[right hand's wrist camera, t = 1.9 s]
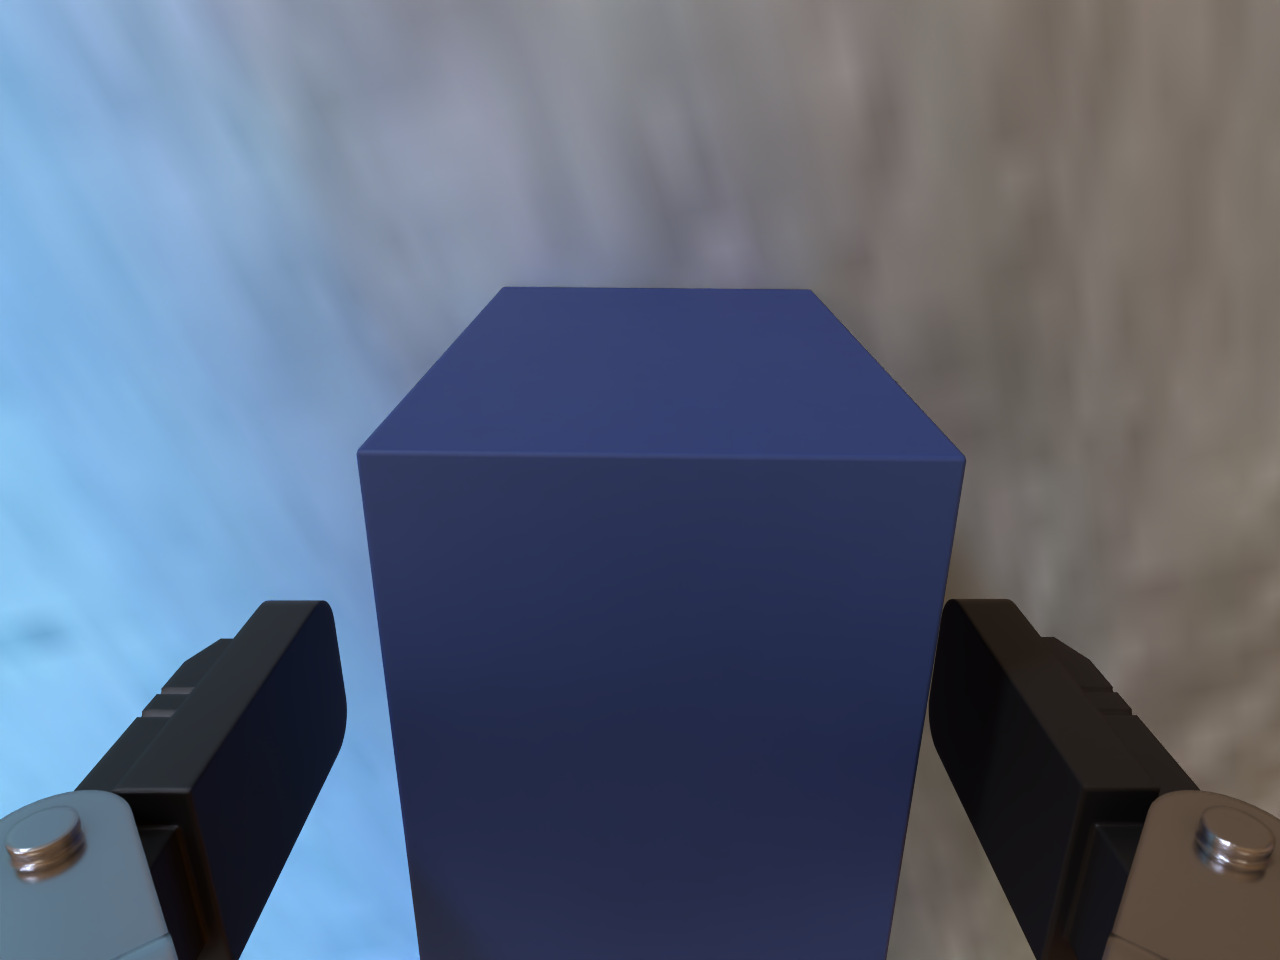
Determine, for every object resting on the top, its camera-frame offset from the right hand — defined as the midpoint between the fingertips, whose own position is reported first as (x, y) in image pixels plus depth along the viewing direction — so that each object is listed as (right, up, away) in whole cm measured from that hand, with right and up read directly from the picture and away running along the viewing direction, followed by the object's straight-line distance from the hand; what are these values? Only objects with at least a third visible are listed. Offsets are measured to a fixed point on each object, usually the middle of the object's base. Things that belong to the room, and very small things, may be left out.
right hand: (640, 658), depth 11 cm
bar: (0, -7, +9) cm, 11 cm away
